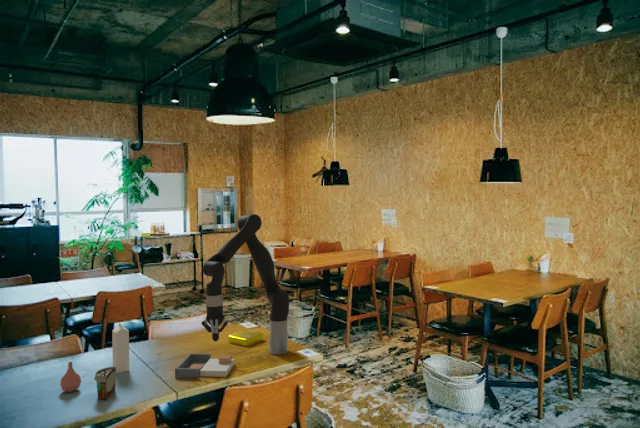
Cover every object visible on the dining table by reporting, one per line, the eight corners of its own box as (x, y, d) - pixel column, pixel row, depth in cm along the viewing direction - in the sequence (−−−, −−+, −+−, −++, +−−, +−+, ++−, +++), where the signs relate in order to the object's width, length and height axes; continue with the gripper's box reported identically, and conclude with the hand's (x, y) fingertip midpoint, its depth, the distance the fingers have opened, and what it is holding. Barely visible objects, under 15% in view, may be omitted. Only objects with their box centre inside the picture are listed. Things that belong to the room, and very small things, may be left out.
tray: (210, 361, 233) (210, 353, 232) (197, 378, 212) (197, 369, 212) (189, 361, 233) (189, 353, 233) (175, 377, 212) (174, 368, 212)
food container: (101, 389, 199) (101, 366, 198) (116, 389, 199) (116, 366, 199) (89, 402, 186) (89, 377, 186) (105, 402, 187) (105, 377, 186)
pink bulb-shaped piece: (59, 396, 192) (58, 366, 192) (61, 389, 199) (60, 360, 199) (80, 392, 195) (80, 364, 195) (81, 385, 202) (81, 358, 202)
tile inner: (231, 360, 228) (231, 354, 228) (229, 363, 223) (229, 358, 223) (221, 359, 228) (221, 354, 228) (218, 363, 223) (218, 358, 223)
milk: (115, 373, 217) (115, 326, 216) (112, 369, 222) (111, 323, 221) (129, 370, 220) (128, 324, 219) (126, 367, 225) (125, 321, 224)
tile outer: (203, 369, 221) (203, 364, 220) (199, 373, 216) (199, 368, 215) (192, 369, 221) (192, 364, 221) (189, 373, 216) (189, 368, 216)
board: (234, 364, 230) (234, 359, 229) (226, 376, 214) (226, 371, 213) (210, 363, 230) (210, 358, 230) (200, 376, 214) (200, 370, 214)
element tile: (264, 340, 269) (264, 332, 269) (247, 347, 256) (247, 338, 256) (244, 336, 277) (244, 328, 277) (226, 343, 264) (226, 334, 264)
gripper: (230, 302, 223) (231, 338, 224) (202, 302, 224) (204, 338, 225) (226, 306, 216) (227, 343, 217) (198, 306, 216) (199, 343, 217)
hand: (215, 340), depth 221 cm, fingers closed
